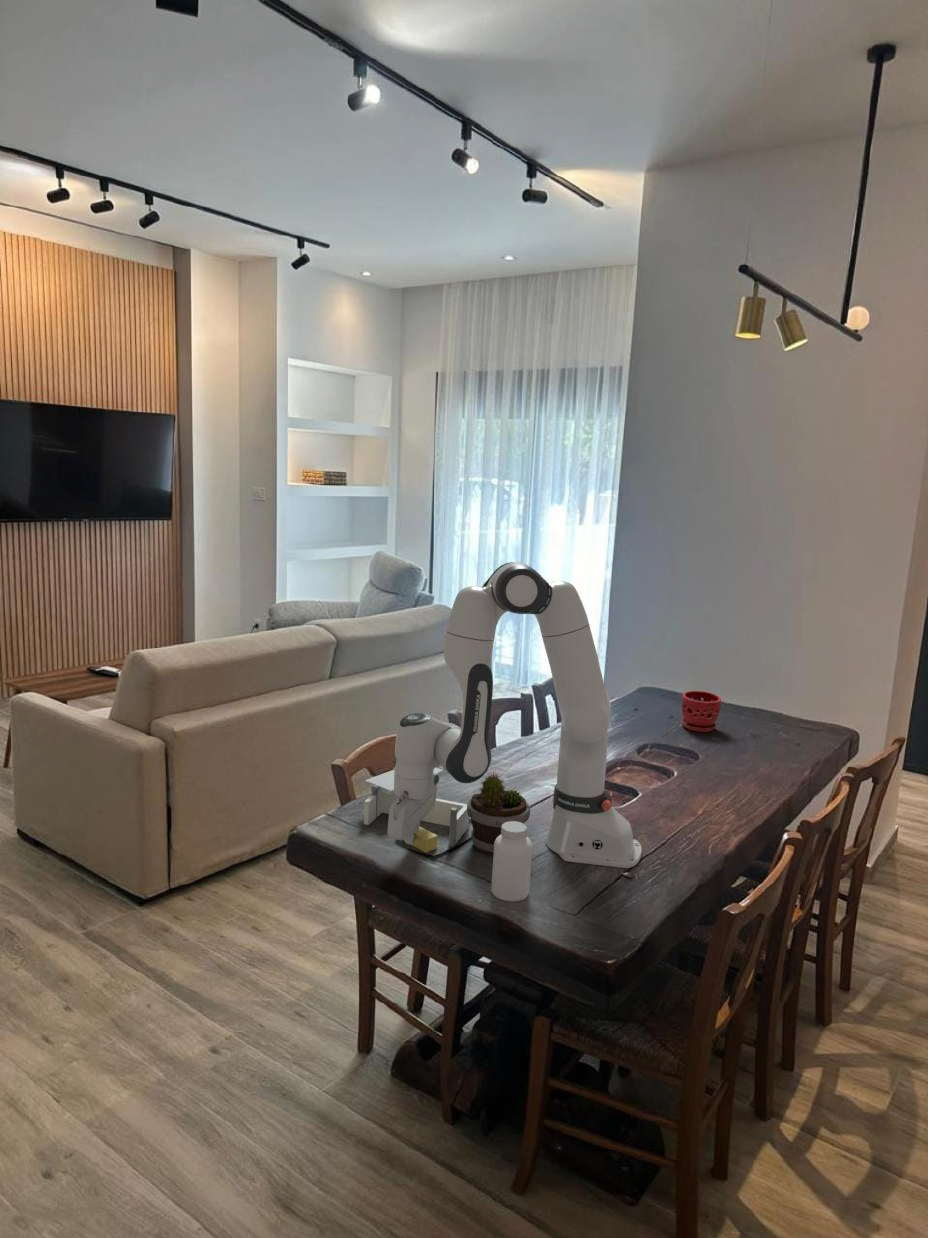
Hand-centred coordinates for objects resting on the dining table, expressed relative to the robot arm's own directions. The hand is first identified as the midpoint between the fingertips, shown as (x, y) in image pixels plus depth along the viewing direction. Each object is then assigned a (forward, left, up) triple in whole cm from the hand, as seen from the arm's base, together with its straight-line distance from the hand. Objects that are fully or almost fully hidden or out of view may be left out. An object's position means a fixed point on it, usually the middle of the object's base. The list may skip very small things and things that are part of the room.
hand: (411, 841), depth 190 cm
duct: (+4, -12, -2) cm, 13 cm away
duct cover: (+11, -22, +5) cm, 26 cm away
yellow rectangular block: (0, -4, -2) cm, 5 cm away
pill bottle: (-26, +9, -2) cm, 28 cm away
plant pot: (-55, -127, -2) cm, 139 cm away
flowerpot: (-17, -10, -2) cm, 20 cm away
